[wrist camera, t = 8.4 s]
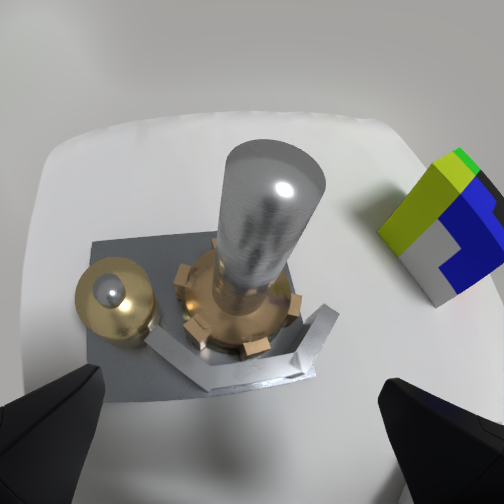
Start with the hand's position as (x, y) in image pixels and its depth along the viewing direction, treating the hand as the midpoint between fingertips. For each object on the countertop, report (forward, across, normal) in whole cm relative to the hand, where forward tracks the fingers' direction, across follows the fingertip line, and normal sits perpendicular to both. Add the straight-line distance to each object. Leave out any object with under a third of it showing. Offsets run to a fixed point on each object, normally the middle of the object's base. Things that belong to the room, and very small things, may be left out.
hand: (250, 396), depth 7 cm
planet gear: (+11, 0, +2) cm, 11 cm away
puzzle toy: (+18, -21, -2) cm, 28 cm away
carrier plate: (+12, +3, +3) cm, 12 cm away
